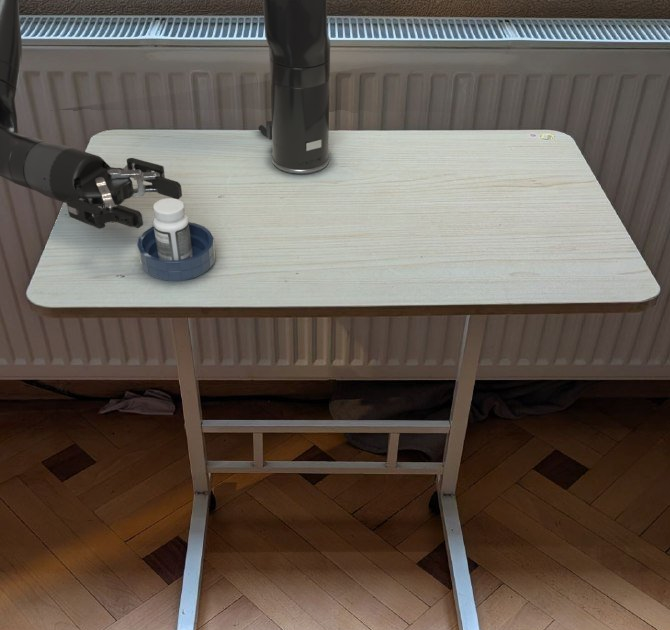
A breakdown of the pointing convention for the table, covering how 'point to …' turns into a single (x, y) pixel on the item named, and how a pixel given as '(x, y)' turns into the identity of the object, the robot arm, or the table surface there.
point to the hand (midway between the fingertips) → (161, 205)
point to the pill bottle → (172, 230)
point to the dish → (178, 268)
